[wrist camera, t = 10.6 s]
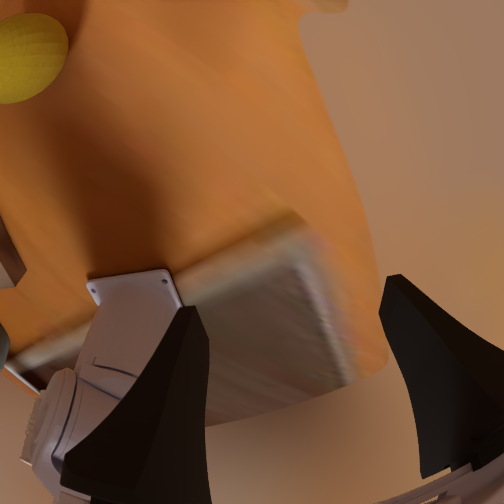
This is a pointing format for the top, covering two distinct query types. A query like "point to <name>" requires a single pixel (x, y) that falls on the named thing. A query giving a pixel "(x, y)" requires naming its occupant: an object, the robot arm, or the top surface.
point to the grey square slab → (9, 261)
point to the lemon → (30, 55)
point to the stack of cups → (31, 430)
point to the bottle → (3, 347)
